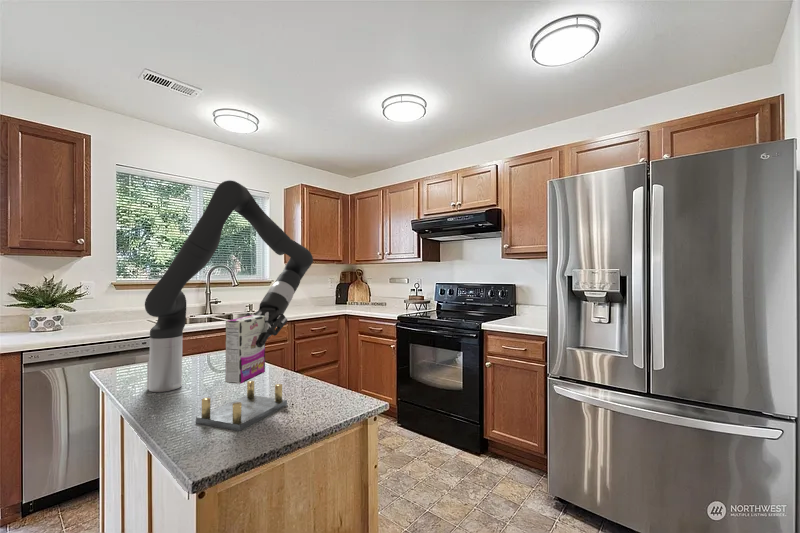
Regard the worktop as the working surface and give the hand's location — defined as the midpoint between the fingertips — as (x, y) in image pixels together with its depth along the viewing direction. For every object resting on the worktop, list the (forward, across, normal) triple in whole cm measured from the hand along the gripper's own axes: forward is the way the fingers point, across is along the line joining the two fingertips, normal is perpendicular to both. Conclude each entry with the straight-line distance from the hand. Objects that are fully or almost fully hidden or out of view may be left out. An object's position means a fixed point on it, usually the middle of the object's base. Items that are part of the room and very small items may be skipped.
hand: (249, 344), depth 101 cm
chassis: (+14, 0, +12) cm, 18 cm away
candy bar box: (+7, 0, +5) cm, 9 cm away
